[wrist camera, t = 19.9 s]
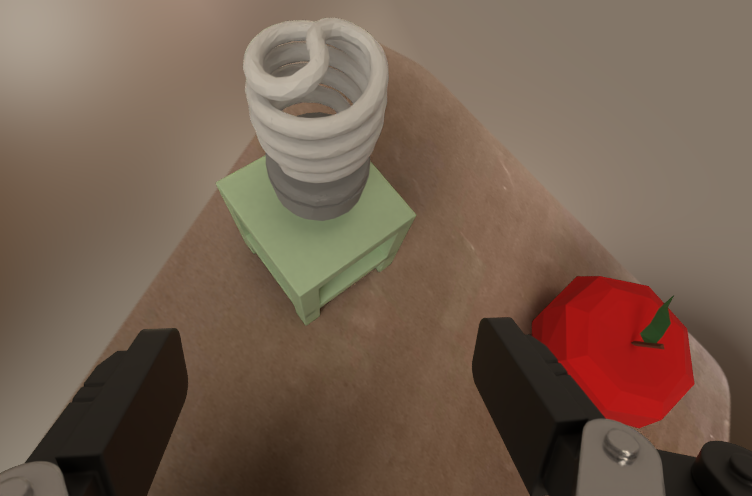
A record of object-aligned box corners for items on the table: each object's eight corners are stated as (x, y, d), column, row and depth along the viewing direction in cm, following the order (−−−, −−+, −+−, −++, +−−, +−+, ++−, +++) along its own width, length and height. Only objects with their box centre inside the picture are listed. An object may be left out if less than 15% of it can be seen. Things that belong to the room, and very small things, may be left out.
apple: (607, 448, 31) (728, 470, 22) (491, 373, 32) (560, 364, 23) (644, 335, 35) (760, 313, 26) (540, 271, 36) (615, 227, 27)
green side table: (330, 188, 36) (333, 117, 27) (391, 263, 34) (417, 214, 25) (244, 241, 33) (214, 182, 24) (306, 326, 32) (299, 297, 22)
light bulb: (318, 262, 23) (315, 137, 12) (253, 200, 24) (194, 30, 13) (382, 203, 25) (430, 48, 14) (320, 148, 26) (318, -40, 15)
